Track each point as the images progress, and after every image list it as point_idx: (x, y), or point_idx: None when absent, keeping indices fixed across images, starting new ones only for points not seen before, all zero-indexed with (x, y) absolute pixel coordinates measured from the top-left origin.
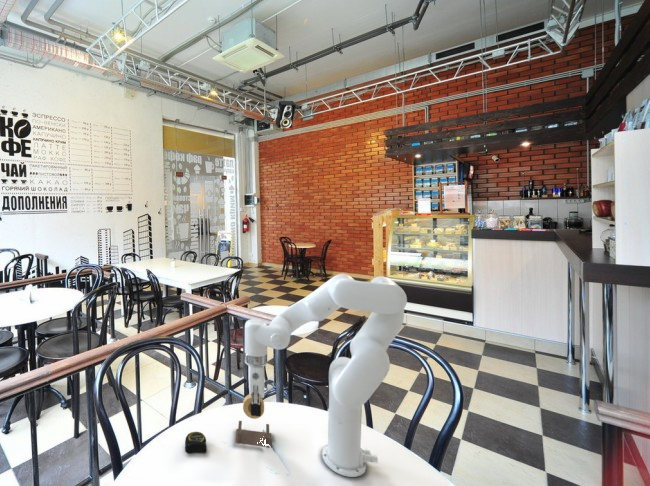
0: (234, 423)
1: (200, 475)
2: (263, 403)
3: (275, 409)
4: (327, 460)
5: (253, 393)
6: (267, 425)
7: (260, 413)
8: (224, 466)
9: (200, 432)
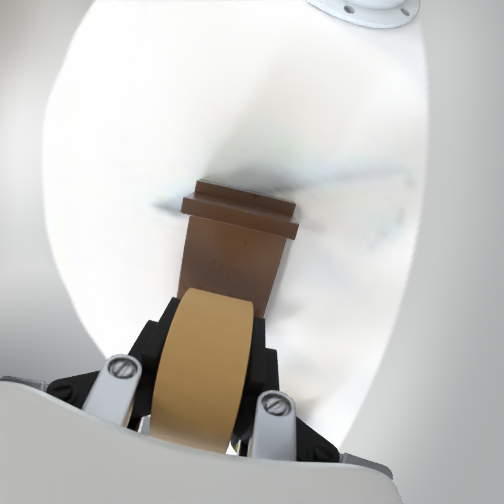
0: (131, 315)
1: (350, 412)
2: (215, 336)
3: (46, 132)
4: (375, 17)
5: (130, 422)
6: (194, 209)
7: (263, 329)
8: (339, 370)
9: (237, 440)
